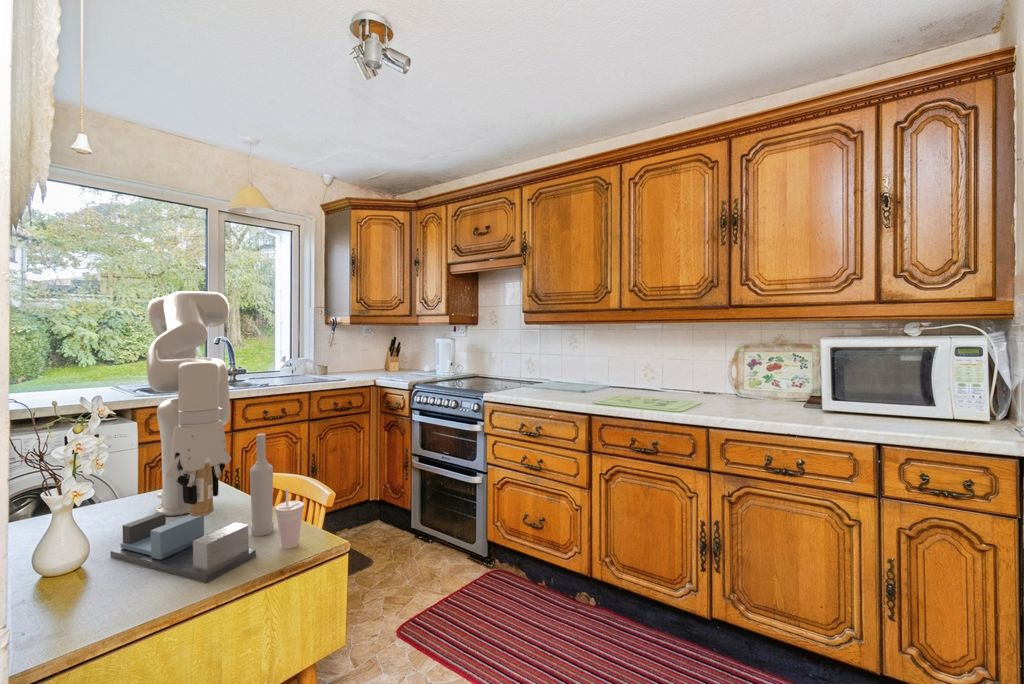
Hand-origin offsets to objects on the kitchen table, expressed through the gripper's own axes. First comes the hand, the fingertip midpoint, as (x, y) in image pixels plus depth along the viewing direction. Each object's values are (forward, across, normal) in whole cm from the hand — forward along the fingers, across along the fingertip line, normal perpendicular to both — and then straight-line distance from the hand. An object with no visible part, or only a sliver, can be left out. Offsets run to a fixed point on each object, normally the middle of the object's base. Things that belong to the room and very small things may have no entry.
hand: (201, 498), depth 106 cm
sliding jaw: (+13, 0, -13) cm, 18 cm away
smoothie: (+15, -13, +12) cm, 23 cm away
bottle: (+14, -16, 0) cm, 22 cm away
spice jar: (+4, 0, 0) cm, 4 cm away
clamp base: (+14, 0, -6) cm, 16 cm away
